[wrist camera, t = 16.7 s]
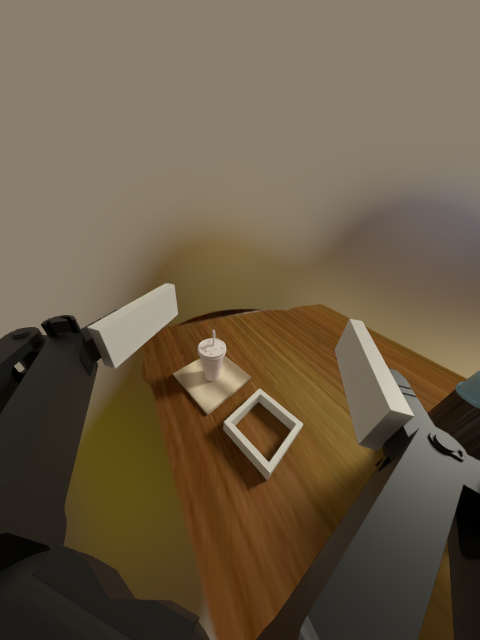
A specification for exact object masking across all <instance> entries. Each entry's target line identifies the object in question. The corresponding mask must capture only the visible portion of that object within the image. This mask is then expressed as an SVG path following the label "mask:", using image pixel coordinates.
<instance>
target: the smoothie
mask: <svg viewBox="0 0 480 640" xmlns="http://www.w3.org/2000/svg"><path fill="white" fill-rule="evenodd" d="M225 353H226V345H225V343H224V342H223V341H221V340H219V339H215V330H213V338H210V339H206V340H204V341H202V342H201V343H200V344H199V346H198V354H199V355H200V357H201V361H202V366H203V370H204V375H205V378H206V380H208V381H216V380H217V379H218V378H219V376H220V371H221V367H222V362H223V357H224V355H225Z"/></svg>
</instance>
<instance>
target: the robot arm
mask: <svg viewBox="0 0 480 640" xmlns="http://www.w3.org/2000/svg"><path fill="white" fill-rule="evenodd" d="M177 314H178V311H177V302H176V294H175V286H174V285H173V284H167V283H166V284H164V285H162V286H160V287H158V288H156V289H155V290H153V291H151V292H149V293H147V294H146V295H144V296H142V297H140V298H139V299H137V300H135V301H134V302H131V303H130V304H128V305H126V306H124V307H122V308H120V309H118V310H115V311H113V312H111V313H109V315H106V316H104V317H103V318H100V319H99V320H97V321H95V322H93V323H91V324H89V325H88V326H86V327H84V328H82V329H80V327H79V325H78V323H77V321H76V319H75V317H73V316H70V315H62V316H57V317H53V318H50V319H48V320H46V321H44V322H43V323H42V324H41V326H42V327H43V329H44V330H45V332H46V334H47V335H42V333H41V332H40V330H39V329H38V328H36V327H28V328H21V329H17V330H15V331H13V332H10V333H9V334H7V335H5V336H4V337H2V338H1V339H0V640H210V639H209V637H208V636H207V634H206V632H205V630H204V629H203V628H202V626H201V625H200V623H199V622H198V620H199V616H197V615H195V614H194V613H192V612H190V611H188V610H187V609H185V608H183V607H181V606H180V605H178V604H176V603H174V602H172V601H171V600H139V599H136V598H135V597H134V595H133V594H132V592H131V591H130V589H129V588H128V587H127V585H126V584H125V582H124V580H123V579H122V578H121V576H120V574H119V573H118V572H117V570H116V569H114V568H112V567H111V566H109V565H107V564H105V563H104V562H102V561H100V560H98V559H97V558H95V557H93V556H91V555H88V554H85V553H82V552H79V551H77V550H74V549H71V548H68V547H65V546H63V544H64V539H65V533H66V516H65V511H64V505H65V500H66V496H67V492H68V487H69V483H70V479H71V475H72V471H73V467H74V463H75V459H76V455H77V450H78V446H79V442H80V438H81V434H82V430H83V426H84V422H85V418H86V414H87V410H88V405H89V401H90V397H91V393H92V389H93V385H94V381H95V376H96V373H97V368H98V363H97V361H98V360H99V359H100V358H102V360H103V362H104V365H106V366H109V367H112V368H117V367H118V366H119V365H120V364H121V363H122V362H124V361H125V360H126V359H127V358H128V357H129V356H130V355H131V354H133V353H134V352H135V351H136V350H137V349H138V348H140V347H141V346H142V345H143V344H144V343H145V342H147V341H148V340H149V339H150V338H151V337H152V336H153V335H155V334H156V333H157V332H158V331H159V330H160V329H162V328H163V327H164V326H165V325H166V324H167V323H168V322H170V321H171V320H172V319H173V318H174V317H175V316H177ZM335 352H336V356H337V360H338V365H339V369H340V373H341V377H342V381H343V385H344V389H345V393H346V397H347V401H348V405H349V409H350V413H351V417H352V421H353V425H354V430H355V434H356V438H357V442H358V445H361V446H364V447H367V448H370V449H373V450H378V449H379V448H380V447H382V446H383V449H384V454H385V457H384V458H383V459H381V460H380V461H379V462H378V463H377V464H375V465H376V466H377V468H376V470H375V471H374V473H373V474H372V476H371V477H370V479H369V480H368V482H367V483H366V485H365V486H364V488H363V489H362V491H361V492H360V494H359V495H358V497H357V498H356V500H355V501H354V502H353V504H352V505H351V507H350V508H349V510H348V511H347V513H346V514H345V516H344V517H343V519H342V520H341V522H340V523H339V525H338V526H337V528H336V529H335V531H334V532H333V534H332V535H331V536H330V538H329V539H328V541H327V542H326V544H325V545H324V547H323V548H322V550H321V551H320V553H319V554H318V556H317V557H316V559H315V560H314V562H313V563H312V565H311V566H310V568H309V569H308V570H307V572H306V573H305V575H304V576H303V578H302V579H301V581H300V582H299V584H298V585H297V587H296V588H295V590H294V591H293V593H292V594H291V596H290V597H289V599H288V600H287V602H286V603H285V605H284V606H283V607H282V609H281V610H280V612H279V613H278V615H277V616H276V617H275V618H274V620H273V621H272V622H271V623H270V624H269V625H268V626H267V627H266V628H265V629H264V630H263V632H262V633H261V634H260V635H259V637H258V638H257V639H256V640H418V637H419V634H420V631H421V627H422V624H423V620H424V617H425V613H426V610H427V607H428V603H429V600H430V596H431V593H432V590H433V586H434V583H435V579H436V576H437V572H438V569H439V566H440V562H441V559H442V555H443V552H444V549H445V545H446V542H447V538H448V550H449V565H450V581H451V597H452V612H453V628H454V640H480V371H478V372H476V373H475V374H474V375H472V376H471V377H470V378H468V379H467V380H465V381H464V382H461V383H459V384H458V385H457V386H456V389H455V390H454V391H453V392H452V393H450V394H449V395H448V396H447V397H446V398H445V399H444V400H442V401H441V402H440V403H439V404H438V405H437V406H435V407H434V408H433V409H432V410H431V411H430V412H428V413H426V411H425V409H424V408H423V406H422V404H421V403H420V401H419V400H418V398H416V395H415V393H414V392H413V390H411V387H410V385H409V383H408V382H407V380H406V379H405V378H404V377H403V376H402V375H401V374H400V373H399V372H398V371H397V370H393V369H389V368H388V367H387V365H386V363H385V362H384V360H383V358H382V356H381V354H380V353H379V351H378V349H377V347H376V345H375V343H374V342H373V340H372V338H371V336H370V334H369V333H368V331H367V329H366V327H365V325H364V324H363V322H362V321H358V320H353V319H350V320H349V322H348V324H347V326H346V328H345V330H344V332H343V334H342V336H341V338H340V340H339V342H338V344H337V346H336V349H335ZM18 362H20V363H21V365H22V366H23V367H24V368H25V369H24V370H23V371H22V372H18V371H17V369H16V368H15V367H14V365H15V364H17V363H18Z"/></svg>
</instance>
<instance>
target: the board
mask: <svg viewBox="0 0 480 640" xmlns="http://www.w3.org/2000/svg"><path fill="white" fill-rule="evenodd" d="M173 376H174V377H175V378H176V379H177V381H178V382H179V383H180V384H181V385H182V386H183V388H184V389H185V390H186V391H187V392H188V393H189V395H190V396H191V397H192V398H193V399H194V400H195V402H196V403H197V404H198V405H199V406H200V407H201V409H202V410H203V411H204V412H205V413H206V414H207V415H208V414H210V413H211V412H212V411H213V410H214V409H216V408H217V407H218V406H219V405H220V404H222V403H223V402H224V401H225V400H226V399H228V398H229V397H230V396H231V395H232V394H234V393H235V392H236V391H237V390H238V389H240V388H241V387H242V386H243V385H244V384H246V383H247V382H248V381H249V380H250V379H251V377H250V376H249V375H248V374H247V373H245V372H244V371H243V370H242V369H240V368H239V367H238V366H237V365H235V364H234V363H233V362H232V361H230V360H229V359H228V358H227V357H225V356H224V357H223V362H222V367H221V371H220V376H219V378H218V379H217V380H216V381H208V380H206V378H205V375H204V370H203V366H202V361H201V358H200V359H198V360H196V361H195V362H193V363H191V364H189V365H187V366H186V367H184V368H182V369H180V370H179V371H177V372H175V373H173Z"/></svg>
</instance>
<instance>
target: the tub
mask: <svg viewBox="0 0 480 640" xmlns="http://www.w3.org/2000/svg"><path fill="white" fill-rule="evenodd" d="M258 402H259V403H260V404H262V405H263V406H264V407H265V408H266V409H267V410H268V411H270V412H271V413H272V414H273V415H274V416H275V417H276V418H278V419H279V420H280V421H281V422H282V423H283V424H284V425H286V426H287V427H288V428H289V429H290V430H291V432H290V434H289V435H288V436H287V438H286V439H285V441H284V442H283V444H282V445H281V446H280V448H279V449H278V451H277V452H276V454H275V455H274V456H273V458H272V459H271V461H270V462H268V461H267V460H266V459H265V458H264V457H263V456H262V455H261V454H260V452H259V451H258V450H257V449H256V448H255V447H254V446H253V445H252V444H251V443H250V442H249V441H248V440H247V438H246V437H245V436H244V435H243V434H242V433H241V432H240V431H239V430H238V429H237V428H236V427H235V425H236V424H237V423H238V422H239V421H240V420H241V419H242V418H243V417H244V416H245V415H246V414H247V413H248V412H249V411H250V410H251V409H252V408H253V407H254V406H255V405H256V404H257V403H258ZM302 426H303V423H301V422H300V421H299V420H298V419H297V418H295V417H294V416H293V415H292V414H290V413H289V412H288V411H287V410H286V409H284V408H283V407H282V406H281V405H279V404H278V403H277V402H276V401H275V400H273V399H272V398H271V397H270V396H268V395H267V394H266V393H265V392H264V391H262V390H261V389H259V390H257V391H256V392H255V393H254V394H253V395H252V396H251V397H250V398H249V399H248V400H247V401H246V402H245V403H244V404H242V405H241V406H240V407H239V408H238V409H237V410H236V411H235V412H234V413H233V414H232V415H231V416H230V417H228V418H227V419H226V420H225V421H224V426H223V430H224V431H225V432H226V434H227V435H228V436H229V437H230V438H231V439H232V440H233V442H234V443H235V444H236V445H237V446H238V447H239V449H240V450H241V451H242V452H243V453H244V454H245V455H246V457H247V458H248V459H249V460H250V461H251V462H252V463H253V465H254V466H255V467H256V468H257V469H258V470H259V471H260V473H261V474H262V475H263V476H264V477H265V478H266V480H268V479H269V477H270V476H271V474H272V473H273V471H274V469H275V468H276V466H277V465H278V463H279V462H280V460H281V459H282V457H283V456H284V454H285V453H286V451H287V450H288V448H289V447H290V445H291V444H292V442H293V441H294V439H295V438H296V436H297V435H298V433H299V432H300V430H301V428H302Z"/></svg>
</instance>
